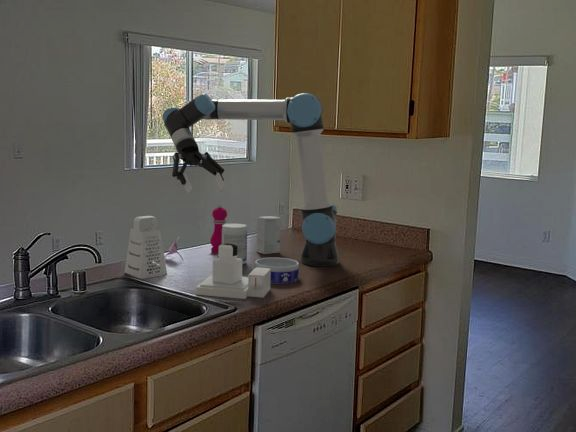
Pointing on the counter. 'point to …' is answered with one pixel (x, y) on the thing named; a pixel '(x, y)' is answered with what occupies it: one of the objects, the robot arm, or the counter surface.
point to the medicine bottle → (227, 265)
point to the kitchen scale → (239, 286)
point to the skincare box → (268, 234)
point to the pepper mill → (217, 228)
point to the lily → (173, 248)
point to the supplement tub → (236, 238)
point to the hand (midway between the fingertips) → (207, 190)
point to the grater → (145, 250)
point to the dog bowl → (280, 269)
